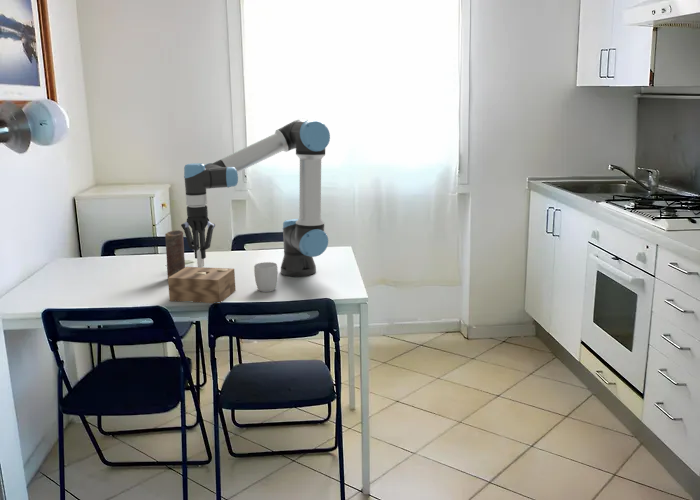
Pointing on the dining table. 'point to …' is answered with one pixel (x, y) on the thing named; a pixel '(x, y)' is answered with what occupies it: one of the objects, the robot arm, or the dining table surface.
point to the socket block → (202, 284)
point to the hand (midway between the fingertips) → (201, 266)
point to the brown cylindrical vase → (174, 252)
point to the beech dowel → (200, 273)
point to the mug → (266, 276)
